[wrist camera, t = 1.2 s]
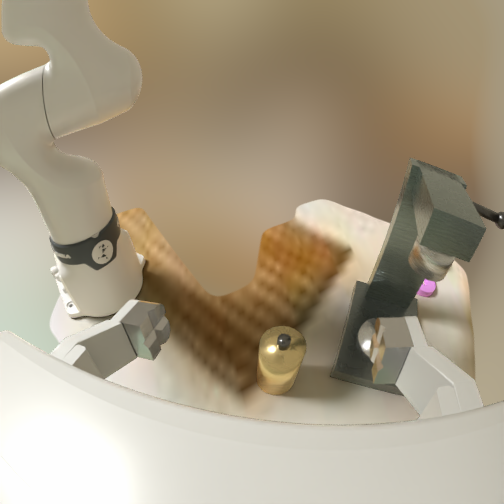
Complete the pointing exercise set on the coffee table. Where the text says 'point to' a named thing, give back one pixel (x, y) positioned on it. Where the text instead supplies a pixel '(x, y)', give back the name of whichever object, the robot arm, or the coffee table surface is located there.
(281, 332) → the bottle
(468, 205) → the press
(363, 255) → the coffee table surface
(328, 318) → the coffee table surface
